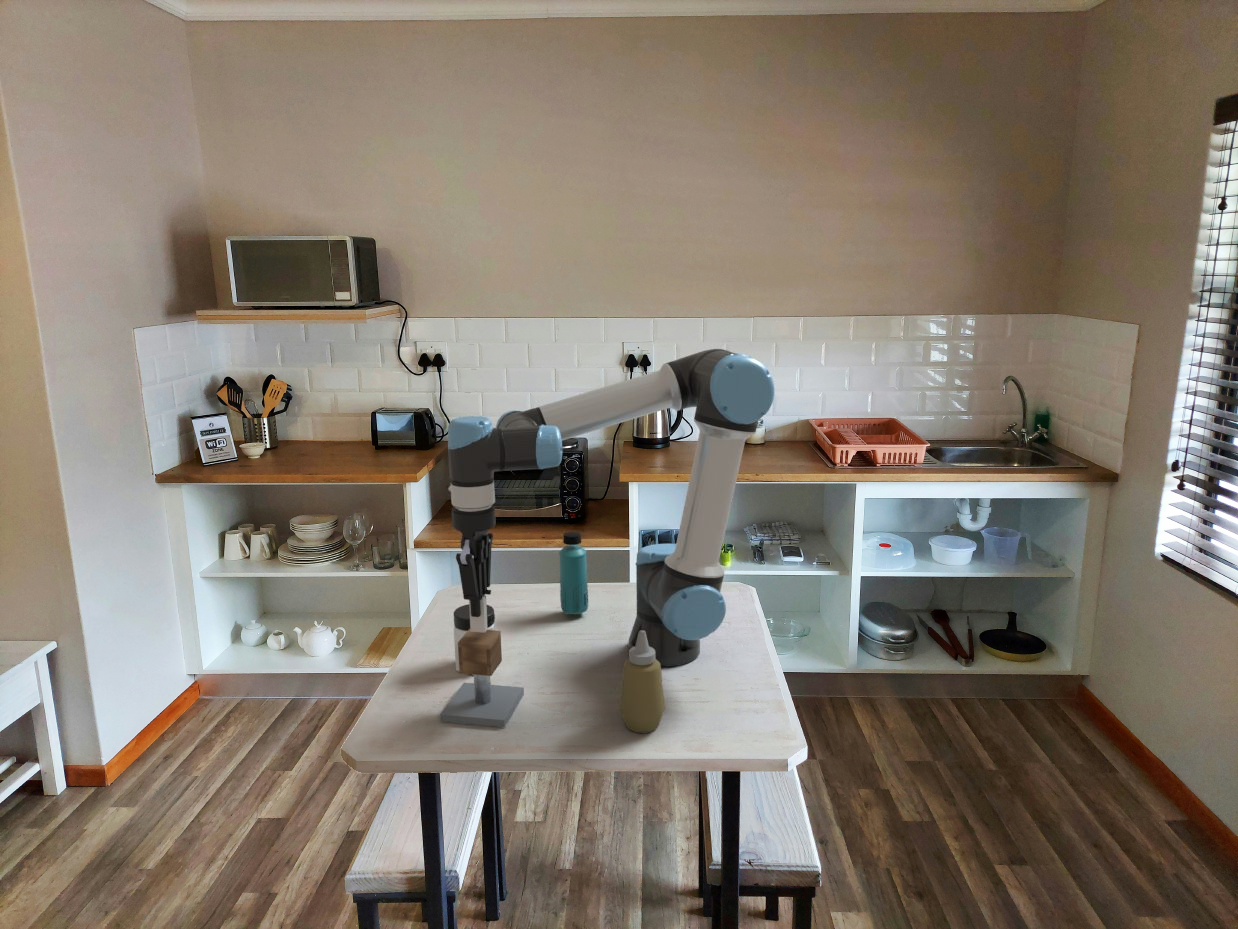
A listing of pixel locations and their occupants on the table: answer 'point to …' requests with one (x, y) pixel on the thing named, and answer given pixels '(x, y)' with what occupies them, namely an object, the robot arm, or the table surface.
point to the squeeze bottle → (642, 688)
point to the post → (482, 689)
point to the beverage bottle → (573, 575)
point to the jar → (467, 625)
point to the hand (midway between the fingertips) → (479, 630)
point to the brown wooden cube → (480, 652)
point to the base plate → (482, 706)
